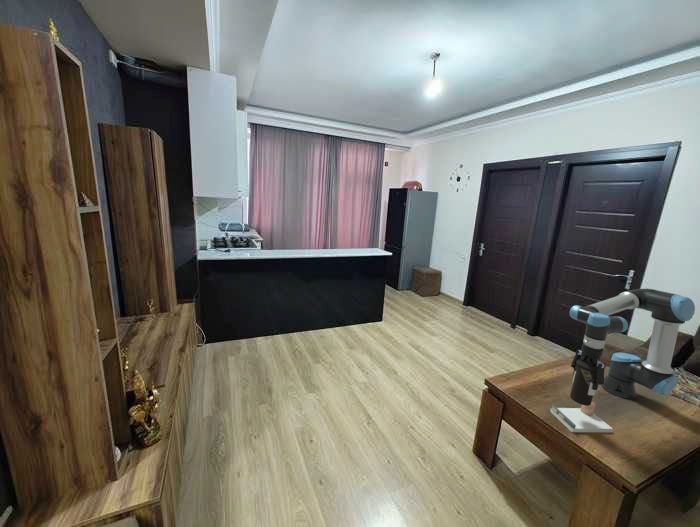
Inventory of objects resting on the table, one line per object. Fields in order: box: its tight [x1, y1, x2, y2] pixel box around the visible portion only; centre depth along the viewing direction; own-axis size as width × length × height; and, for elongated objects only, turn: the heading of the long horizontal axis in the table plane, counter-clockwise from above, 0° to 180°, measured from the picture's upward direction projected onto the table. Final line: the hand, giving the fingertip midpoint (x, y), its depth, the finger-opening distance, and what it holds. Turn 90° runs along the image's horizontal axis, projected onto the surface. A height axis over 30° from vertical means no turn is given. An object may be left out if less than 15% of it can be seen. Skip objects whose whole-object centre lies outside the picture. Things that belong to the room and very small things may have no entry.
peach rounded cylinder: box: [580, 400, 596, 416], centre depth 144 cm, size 5×5×6 cm
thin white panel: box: [549, 404, 614, 433], centre depth 140 cm, size 20×14×4 cm
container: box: [569, 360, 597, 406], centre depth 137 cm, size 9×9×20 cm
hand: (583, 388), depth 137 cm, fingers closed on container, 8 cm apart
